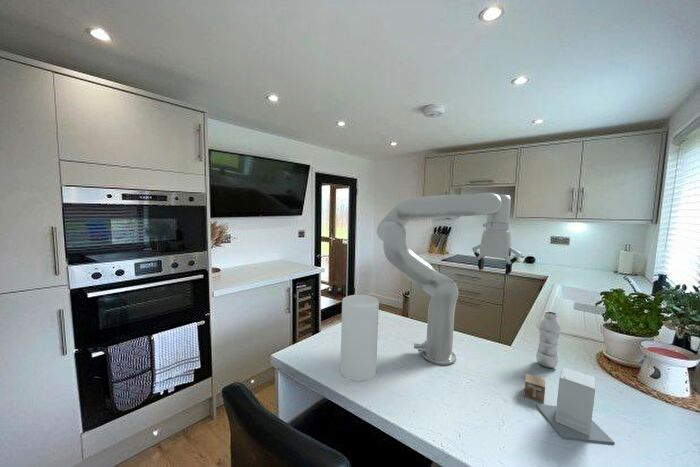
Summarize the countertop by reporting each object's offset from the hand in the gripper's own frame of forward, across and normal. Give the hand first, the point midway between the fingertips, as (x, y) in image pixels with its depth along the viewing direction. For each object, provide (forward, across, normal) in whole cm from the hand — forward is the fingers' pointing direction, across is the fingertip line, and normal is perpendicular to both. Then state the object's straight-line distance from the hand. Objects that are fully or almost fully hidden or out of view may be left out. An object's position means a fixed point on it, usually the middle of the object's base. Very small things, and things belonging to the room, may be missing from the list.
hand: (493, 271), depth 108 cm
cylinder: (+34, -26, -47) cm, 63 cm away
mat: (+33, +29, -21) cm, 49 cm away
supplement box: (+33, +30, -21) cm, 49 cm away
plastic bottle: (+34, +18, +8) cm, 39 cm away
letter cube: (+33, +19, -15) cm, 41 cm away
